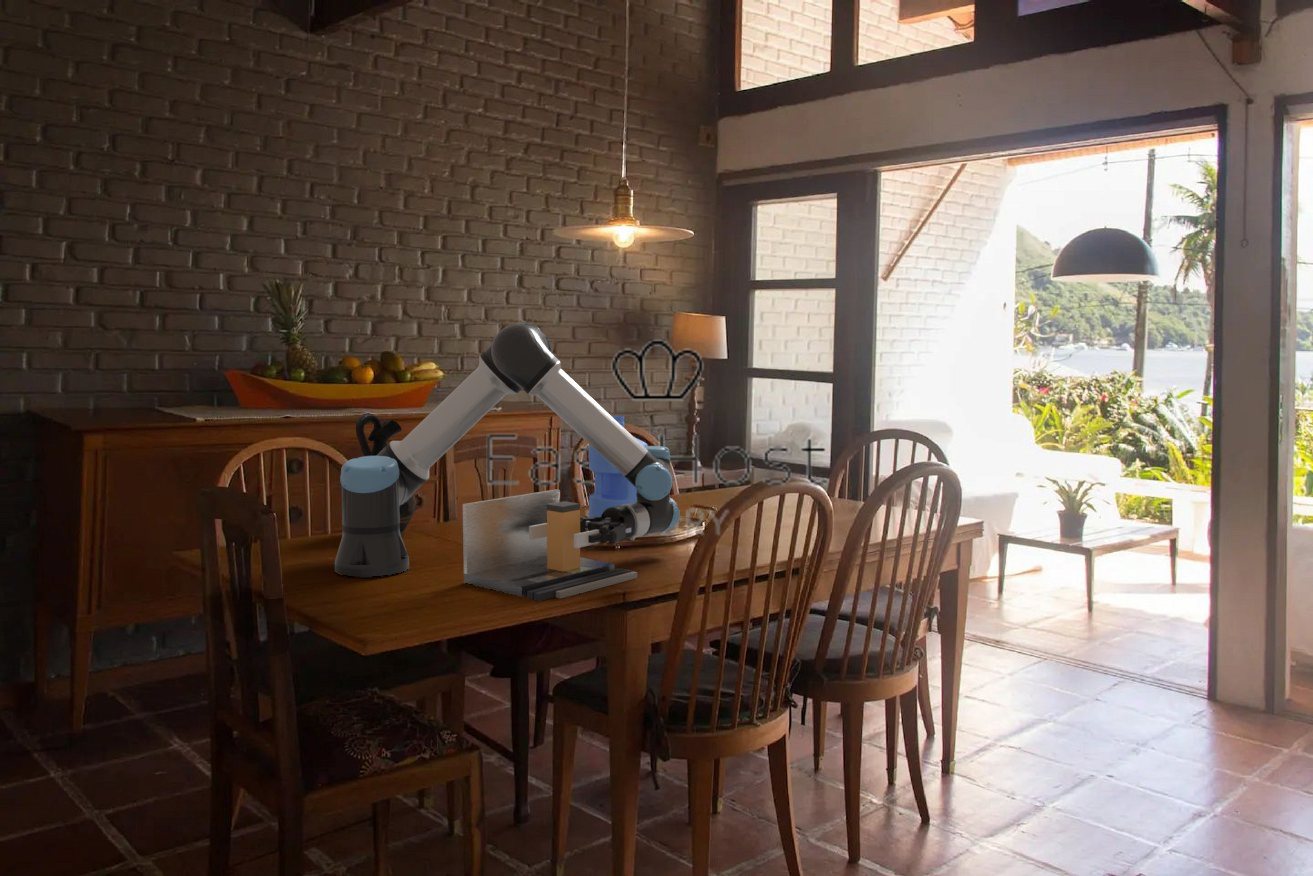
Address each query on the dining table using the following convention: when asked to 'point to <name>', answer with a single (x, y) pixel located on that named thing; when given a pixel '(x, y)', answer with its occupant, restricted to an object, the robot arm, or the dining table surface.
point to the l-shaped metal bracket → (514, 545)
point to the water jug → (609, 482)
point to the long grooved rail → (582, 584)
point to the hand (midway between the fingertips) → (552, 537)
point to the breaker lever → (562, 536)
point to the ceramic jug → (380, 438)
